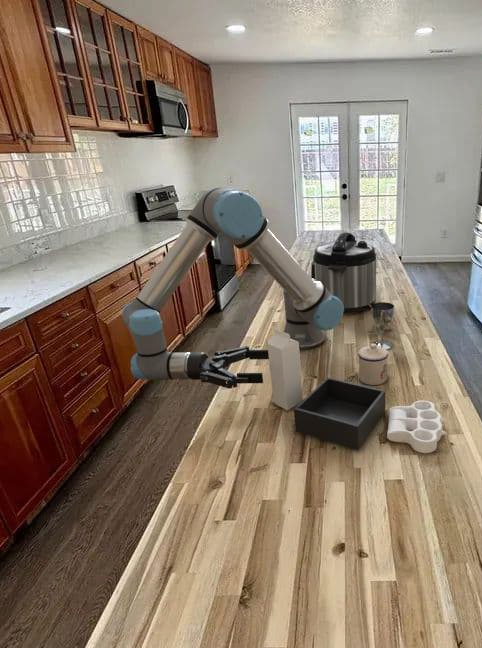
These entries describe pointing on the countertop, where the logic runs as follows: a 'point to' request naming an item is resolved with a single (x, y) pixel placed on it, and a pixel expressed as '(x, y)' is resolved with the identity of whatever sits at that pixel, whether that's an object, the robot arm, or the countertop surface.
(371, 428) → the tray
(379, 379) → the teacup with lid
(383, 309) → the wine glass
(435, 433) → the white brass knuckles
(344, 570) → the countertop surface
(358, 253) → the pressure cooker
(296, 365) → the milk
